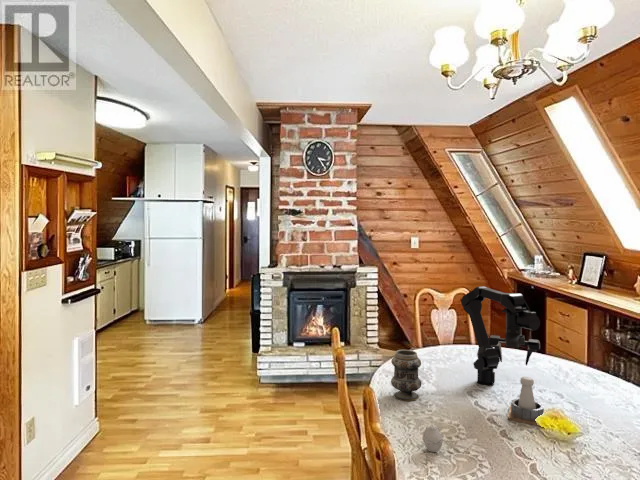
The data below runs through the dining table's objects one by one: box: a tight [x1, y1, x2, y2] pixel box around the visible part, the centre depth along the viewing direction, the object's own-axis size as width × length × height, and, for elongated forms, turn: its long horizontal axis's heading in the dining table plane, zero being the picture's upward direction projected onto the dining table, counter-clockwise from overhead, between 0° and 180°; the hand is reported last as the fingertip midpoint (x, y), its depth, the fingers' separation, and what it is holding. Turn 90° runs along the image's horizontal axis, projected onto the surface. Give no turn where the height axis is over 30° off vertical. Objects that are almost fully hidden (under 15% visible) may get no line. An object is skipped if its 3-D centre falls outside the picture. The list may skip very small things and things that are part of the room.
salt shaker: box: [518, 376, 536, 409], centre depth 154 cm, size 6×6×13 cm
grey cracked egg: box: [422, 425, 444, 453], centre depth 131 cm, size 6×7×7 cm
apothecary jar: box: [390, 349, 422, 402], centre depth 173 cm, size 12×12×18 cm
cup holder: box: [507, 398, 547, 427], centre depth 153 cm, size 12×12×4 cm
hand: (513, 363), depth 173 cm, fingers open, 9 cm apart
